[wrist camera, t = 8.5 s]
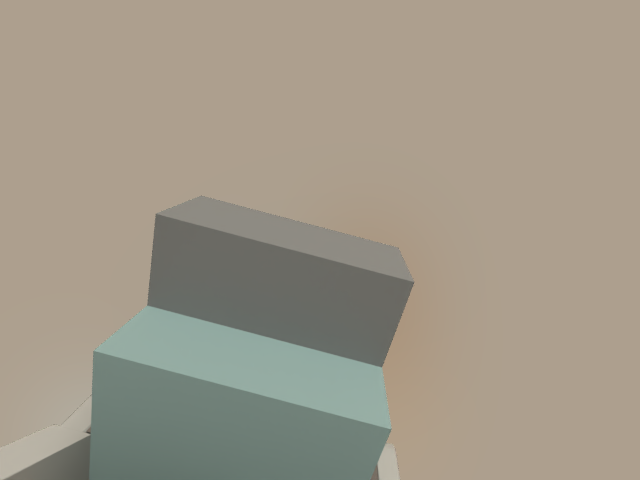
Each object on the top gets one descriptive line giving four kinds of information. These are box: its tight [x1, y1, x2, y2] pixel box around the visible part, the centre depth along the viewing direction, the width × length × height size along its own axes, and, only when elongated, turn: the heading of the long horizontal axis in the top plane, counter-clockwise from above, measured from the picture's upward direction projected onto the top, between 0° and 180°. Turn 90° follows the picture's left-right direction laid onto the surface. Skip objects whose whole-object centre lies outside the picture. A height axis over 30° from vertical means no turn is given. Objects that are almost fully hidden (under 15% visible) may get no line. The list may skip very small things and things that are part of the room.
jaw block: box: [89, 196, 414, 480], centre depth 7 cm, size 4×4×12 cm
